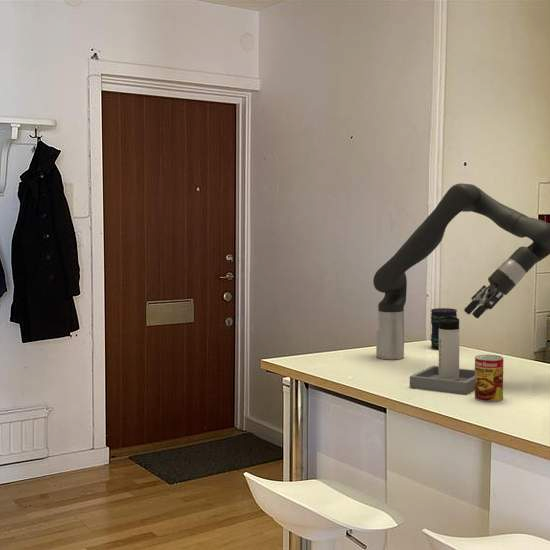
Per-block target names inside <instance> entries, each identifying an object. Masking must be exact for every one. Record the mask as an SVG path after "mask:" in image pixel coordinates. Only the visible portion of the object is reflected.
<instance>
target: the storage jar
mask: <svg viewBox="0 0 550 550" xmlns="http://www.w3.org/2000/svg"><path fill="white" fill-rule="evenodd" d="M430 311H431V313H430V314H431V316H430V324H431V334H430V337H431V338H430V342H431V343H430V344H431V346H430V347H431V350H435V351H439V319H440V318H444V317H447V316H453V317H455V318H458V313H457V312H458V310H457V308H456V309H455V308H450V307H448V308H447V307H446V308H445V307H443V308H442V307H441V308H440V307H438V308H431V310H430Z"/></svg>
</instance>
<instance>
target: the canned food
mask: <svg viewBox="0 0 550 550" xmlns="http://www.w3.org/2000/svg"><path fill="white" fill-rule="evenodd" d="M474 370H475V390H474V400H475V399H476V400H477V401H481V402H489V403H491V402H500V401H502V400H503V399H504V357H503V356H501V355H498V354H478V355H477V354H476V355H475V356H474Z"/></svg>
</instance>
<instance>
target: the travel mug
mask: <svg viewBox="0 0 550 550" xmlns="http://www.w3.org/2000/svg"><path fill="white" fill-rule="evenodd" d="M438 366H439V379H446V380H454V381H459V369H460V318H458V317H457V318H455V317H453V316H447V317H444V318H440V319H439V350H438Z"/></svg>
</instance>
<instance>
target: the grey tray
mask: <svg viewBox="0 0 550 550" xmlns="http://www.w3.org/2000/svg"><path fill="white" fill-rule="evenodd" d="M411 388H412V389H417V390H424V391H425V390H426V391H434V392H435V391H436V392H442V393H443V392H444V393H450V394H459V395H469V394H470V393H471V392H473V391H475V369H468V368H459V381H454V380H446V379H439V365H430V366H429V367H427V368H425V369H422V370H419V371H418V372H416V373H414V374H412V375H409V389H411Z"/></svg>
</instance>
